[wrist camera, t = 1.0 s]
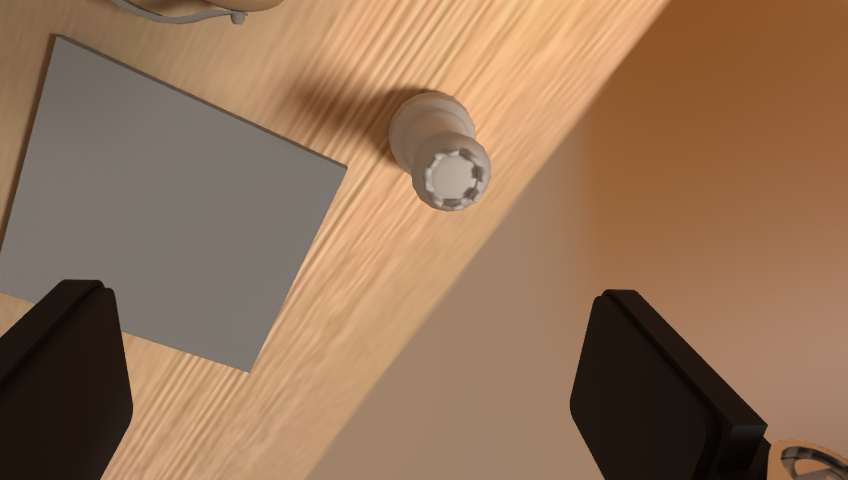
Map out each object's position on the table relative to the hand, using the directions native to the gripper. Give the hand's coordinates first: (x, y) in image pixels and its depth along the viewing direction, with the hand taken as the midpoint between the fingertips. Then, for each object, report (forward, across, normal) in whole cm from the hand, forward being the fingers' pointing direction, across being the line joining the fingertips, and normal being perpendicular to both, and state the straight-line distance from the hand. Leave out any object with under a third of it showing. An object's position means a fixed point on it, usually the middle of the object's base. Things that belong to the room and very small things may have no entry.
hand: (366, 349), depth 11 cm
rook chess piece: (+19, -4, 0) cm, 19 cm away
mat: (+19, +10, +5) cm, 22 cm away
